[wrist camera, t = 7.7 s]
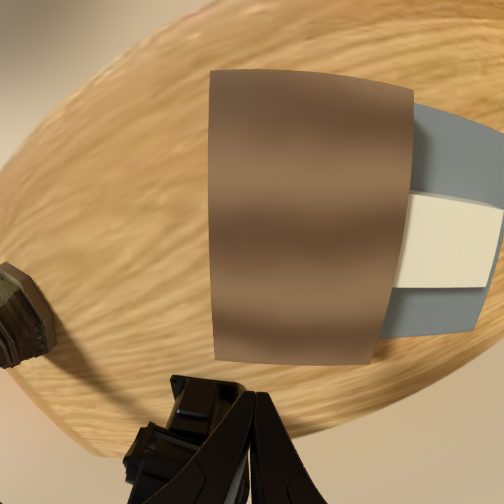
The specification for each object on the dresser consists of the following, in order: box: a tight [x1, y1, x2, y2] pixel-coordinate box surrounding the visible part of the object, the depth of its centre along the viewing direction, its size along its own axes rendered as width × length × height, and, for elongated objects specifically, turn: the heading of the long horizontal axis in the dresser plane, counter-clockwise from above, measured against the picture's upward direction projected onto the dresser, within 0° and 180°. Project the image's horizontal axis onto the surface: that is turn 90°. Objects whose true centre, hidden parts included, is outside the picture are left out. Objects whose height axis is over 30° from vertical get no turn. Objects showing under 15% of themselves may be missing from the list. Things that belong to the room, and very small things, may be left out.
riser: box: [208, 69, 414, 366], centre depth 17 cm, size 18×11×4 cm, turn 179°
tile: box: [393, 190, 504, 288], centre depth 16 cm, size 6×9×2 cm, turn 89°
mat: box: [379, 103, 504, 338], centre depth 17 cm, size 18×12×1 cm
